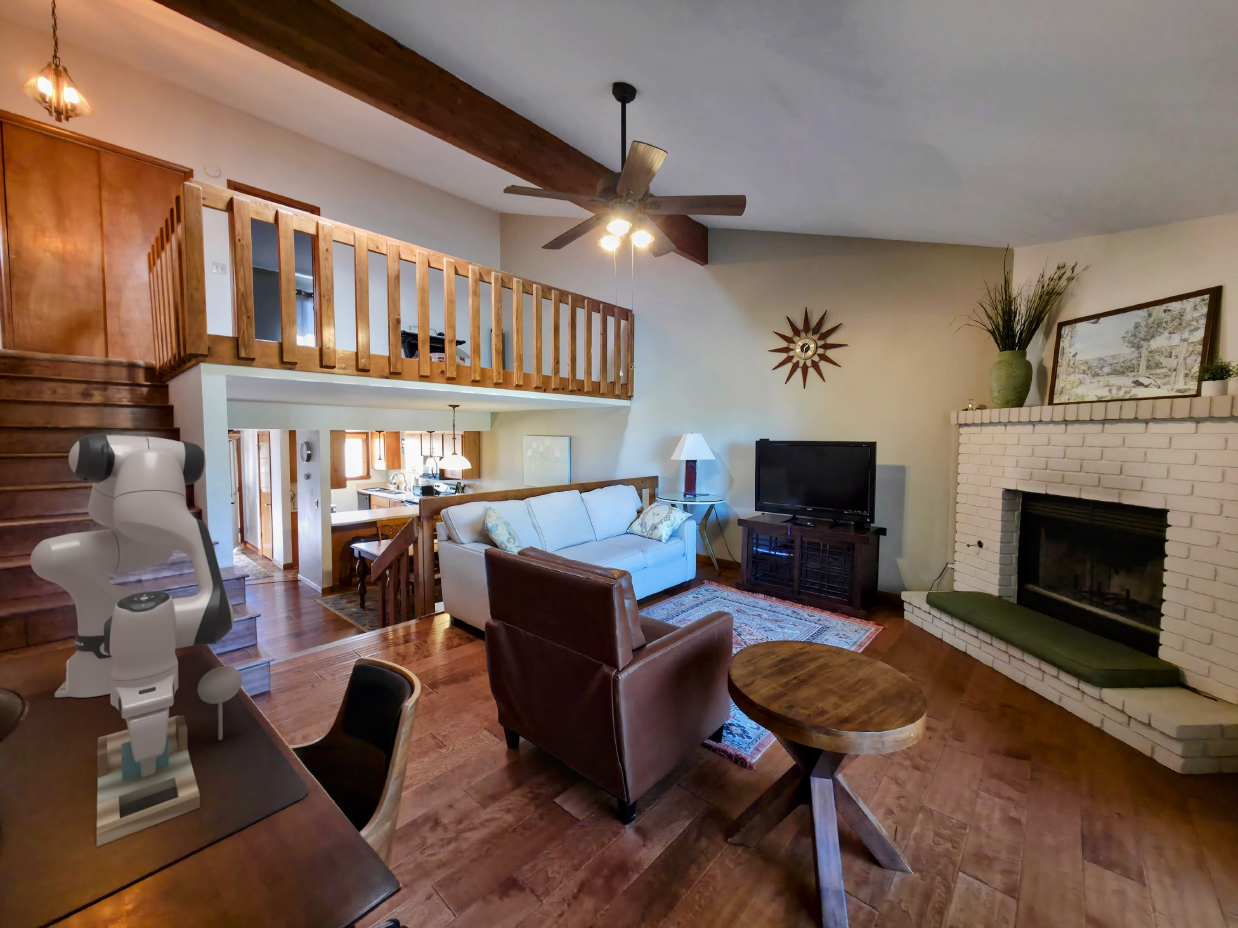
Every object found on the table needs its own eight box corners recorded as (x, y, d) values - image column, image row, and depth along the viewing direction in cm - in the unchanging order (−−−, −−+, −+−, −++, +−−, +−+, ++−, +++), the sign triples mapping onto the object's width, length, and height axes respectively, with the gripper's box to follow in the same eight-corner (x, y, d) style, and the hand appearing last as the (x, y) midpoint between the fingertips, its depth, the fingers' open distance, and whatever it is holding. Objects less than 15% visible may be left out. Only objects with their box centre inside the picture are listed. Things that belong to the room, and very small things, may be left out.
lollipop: (250, 733, 106) (249, 663, 105) (213, 752, 99) (212, 677, 98) (226, 726, 108) (226, 658, 107) (189, 745, 101) (188, 671, 101)
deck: (98, 747, 100) (98, 717, 100) (178, 724, 108) (178, 697, 108) (96, 846, 75) (96, 807, 75) (199, 807, 84) (199, 771, 84)
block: (121, 767, 91) (121, 743, 91) (166, 753, 95) (166, 730, 95) (122, 781, 87) (122, 755, 87) (168, 765, 91) (168, 741, 91)
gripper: (119, 672, 95) (120, 744, 95) (122, 713, 80) (123, 797, 81) (164, 662, 99) (165, 731, 100) (174, 699, 85) (175, 779, 85)
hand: (146, 761), depth 90 cm, fingers open, 8 cm apart
